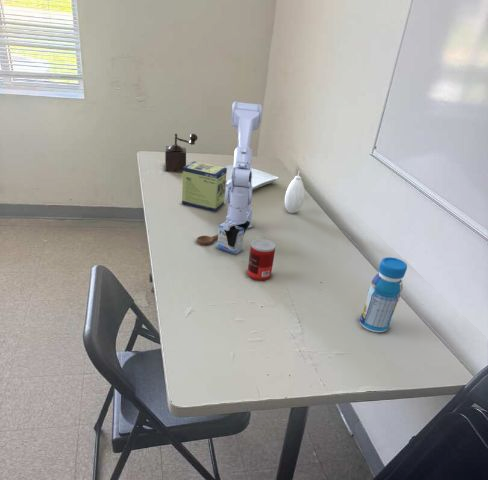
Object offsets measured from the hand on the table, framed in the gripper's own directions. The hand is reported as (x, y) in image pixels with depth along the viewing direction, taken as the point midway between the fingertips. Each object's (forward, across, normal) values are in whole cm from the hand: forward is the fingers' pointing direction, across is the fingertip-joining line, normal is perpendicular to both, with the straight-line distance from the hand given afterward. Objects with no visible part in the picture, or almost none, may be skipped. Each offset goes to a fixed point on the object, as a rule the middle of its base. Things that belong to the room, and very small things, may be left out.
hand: (234, 243), depth 153 cm
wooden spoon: (+3, -3, -11) cm, 11 cm away
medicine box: (+3, 0, -2) cm, 4 cm away
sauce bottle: (+3, -49, 0) cm, 49 cm away
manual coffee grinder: (+3, -59, -68) cm, 90 cm away
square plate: (+3, -66, -36) cm, 75 cm away
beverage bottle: (+3, +13, +55) cm, 56 cm away
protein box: (+3, -28, -33) cm, 44 cm away
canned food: (+3, +9, +15) cm, 18 cm away
